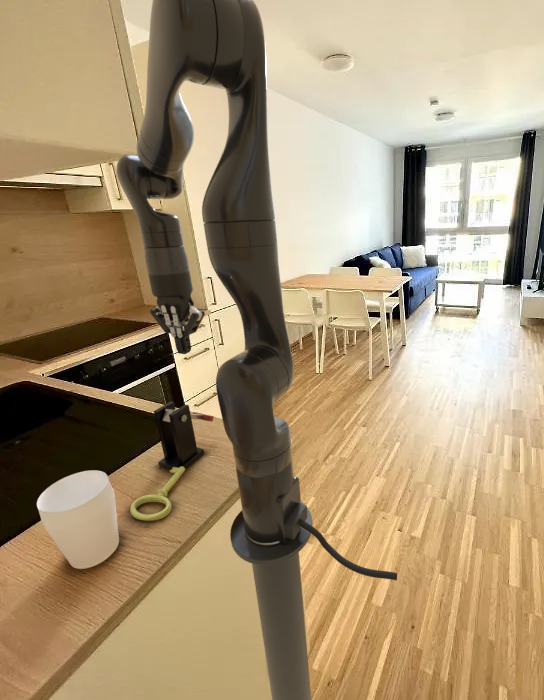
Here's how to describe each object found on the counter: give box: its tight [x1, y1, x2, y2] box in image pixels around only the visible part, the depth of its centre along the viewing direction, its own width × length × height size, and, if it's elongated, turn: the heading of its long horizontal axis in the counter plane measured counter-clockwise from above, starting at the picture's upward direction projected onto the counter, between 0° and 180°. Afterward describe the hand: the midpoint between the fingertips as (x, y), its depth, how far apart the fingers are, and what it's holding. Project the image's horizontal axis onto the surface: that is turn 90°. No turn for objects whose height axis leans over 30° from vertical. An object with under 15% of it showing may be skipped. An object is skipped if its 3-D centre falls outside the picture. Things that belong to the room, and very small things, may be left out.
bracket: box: [153, 401, 205, 471], centre depth 75 cm, size 7×6×13 cm
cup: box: [36, 469, 120, 570], centre depth 55 cm, size 9×9×12 cm
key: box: [129, 466, 186, 522], centre depth 67 cm, size 7×12×2 cm, turn 6°
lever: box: [163, 408, 214, 422], centre depth 78 cm, size 11×5×2 cm
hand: (184, 352), depth 76 cm, fingers closed
